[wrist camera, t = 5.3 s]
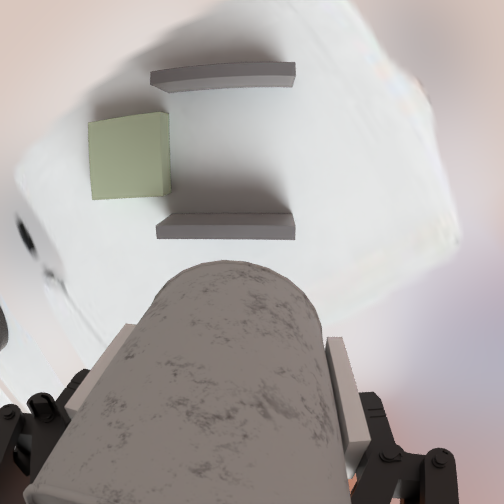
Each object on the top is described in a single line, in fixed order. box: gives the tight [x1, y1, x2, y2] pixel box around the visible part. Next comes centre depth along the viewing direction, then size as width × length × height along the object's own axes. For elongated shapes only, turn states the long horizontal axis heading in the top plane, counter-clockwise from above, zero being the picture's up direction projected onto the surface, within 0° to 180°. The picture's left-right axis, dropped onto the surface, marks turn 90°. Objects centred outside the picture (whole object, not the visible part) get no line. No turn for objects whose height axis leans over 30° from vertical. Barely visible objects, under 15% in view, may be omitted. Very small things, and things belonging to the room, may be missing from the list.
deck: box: [88, 112, 171, 200], centre depth 29 cm, size 8×8×2 cm
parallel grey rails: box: [150, 62, 296, 240], centre depth 27 cm, size 12×15×5 cm
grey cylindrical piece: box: [23, 260, 351, 504], centre depth 11 cm, size 10×10×12 cm
